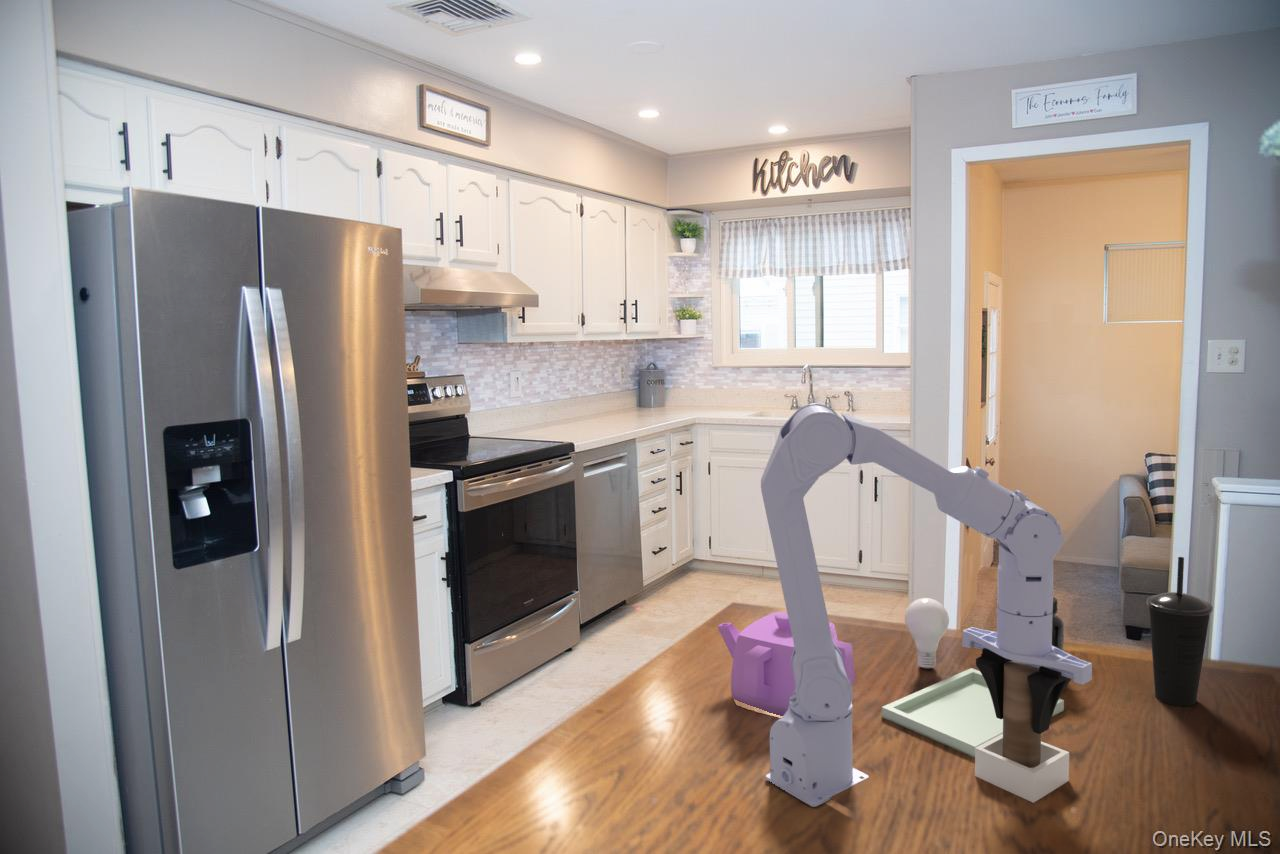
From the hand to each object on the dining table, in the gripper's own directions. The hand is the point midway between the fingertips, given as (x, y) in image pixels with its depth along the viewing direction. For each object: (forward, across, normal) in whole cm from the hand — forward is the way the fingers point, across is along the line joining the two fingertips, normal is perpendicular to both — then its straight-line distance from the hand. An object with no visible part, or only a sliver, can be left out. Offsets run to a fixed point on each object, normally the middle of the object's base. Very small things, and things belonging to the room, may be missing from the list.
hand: (1022, 723), depth 99 cm
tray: (+7, +13, -10) cm, 18 cm away
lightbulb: (+8, +27, -19) cm, 34 cm away
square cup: (+7, 0, 0) cm, 7 cm away
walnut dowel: (+4, 0, 0) cm, 4 cm away
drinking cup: (+7, -1, -36) cm, 37 cm away
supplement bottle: (+8, +15, -29) cm, 34 cm away
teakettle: (+8, +34, +4) cm, 35 cm away
